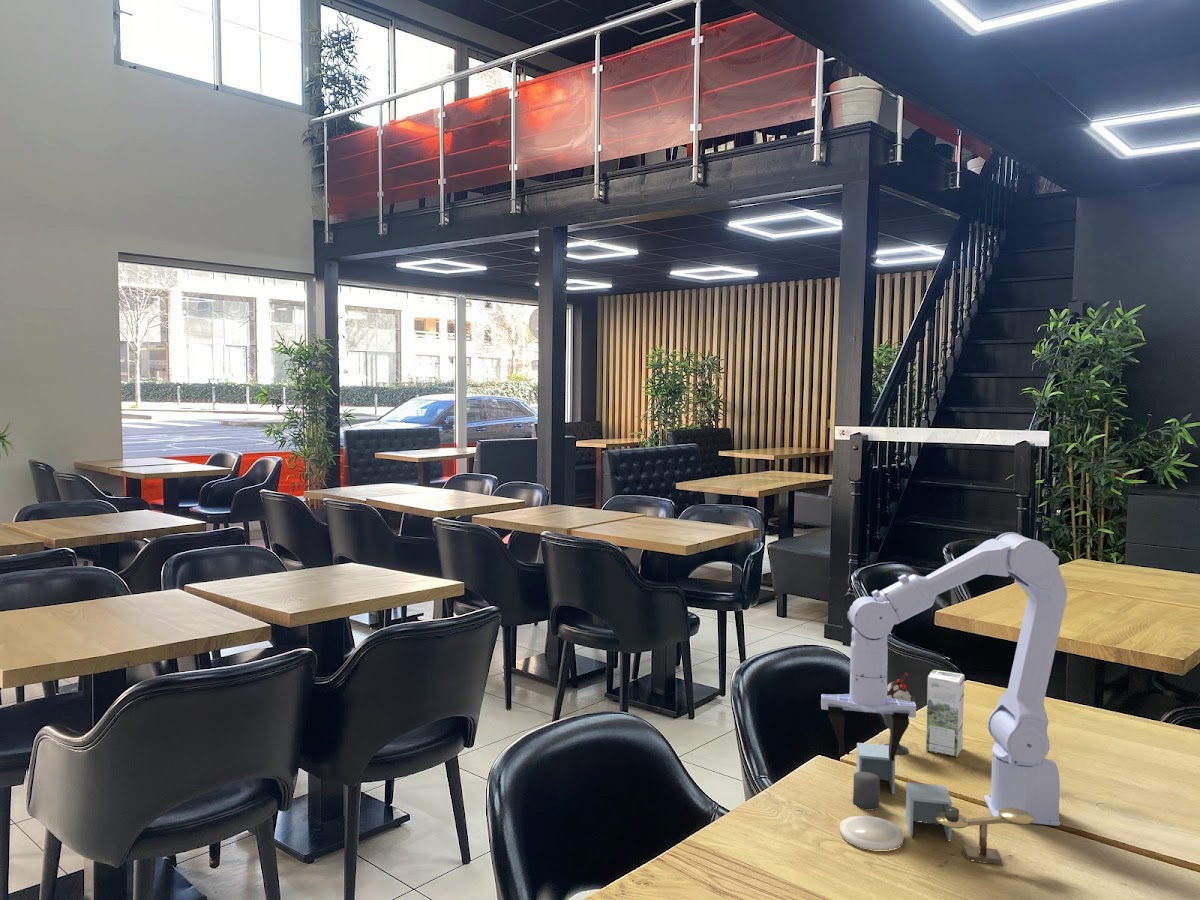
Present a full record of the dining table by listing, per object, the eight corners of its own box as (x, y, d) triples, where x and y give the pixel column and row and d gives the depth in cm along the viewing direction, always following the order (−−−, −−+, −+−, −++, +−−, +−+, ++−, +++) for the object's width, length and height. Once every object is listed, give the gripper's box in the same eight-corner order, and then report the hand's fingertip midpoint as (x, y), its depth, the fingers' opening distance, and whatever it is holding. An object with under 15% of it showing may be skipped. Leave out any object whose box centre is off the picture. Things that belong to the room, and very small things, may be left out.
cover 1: (890, 779, 147) (891, 745, 147) (894, 794, 142) (895, 758, 142) (856, 776, 149) (857, 742, 148) (858, 790, 143) (859, 755, 143)
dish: (899, 825, 131) (899, 819, 131) (906, 855, 122) (906, 847, 122) (838, 819, 133) (838, 812, 133) (841, 847, 124) (841, 840, 124)
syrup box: (963, 748, 162) (965, 672, 161) (957, 758, 157) (959, 680, 156) (931, 742, 165) (933, 667, 164) (925, 752, 160) (926, 675, 159)
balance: (1027, 855, 122) (1028, 809, 122) (1035, 871, 118) (1037, 823, 118) (932, 844, 125) (933, 799, 125) (937, 859, 121) (938, 812, 121)
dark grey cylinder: (877, 800, 140) (878, 773, 139) (879, 811, 136) (880, 783, 136) (852, 797, 141) (853, 770, 140) (853, 808, 137) (854, 780, 137)
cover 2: (944, 824, 132) (945, 785, 131) (950, 841, 126) (951, 802, 126) (905, 819, 133) (906, 781, 133) (910, 837, 127) (911, 797, 127)
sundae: (916, 758, 157) (918, 677, 156) (878, 754, 158) (880, 675, 158) (911, 744, 163) (912, 667, 163) (874, 741, 165) (876, 664, 164)
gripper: (822, 676, 135) (820, 760, 136) (919, 684, 132) (917, 770, 132) (821, 664, 142) (819, 744, 143) (913, 670, 139) (911, 753, 139)
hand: (866, 755), depth 138 cm, fingers open, 7 cm apart
